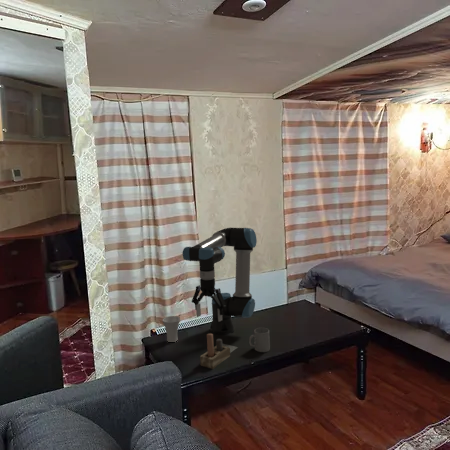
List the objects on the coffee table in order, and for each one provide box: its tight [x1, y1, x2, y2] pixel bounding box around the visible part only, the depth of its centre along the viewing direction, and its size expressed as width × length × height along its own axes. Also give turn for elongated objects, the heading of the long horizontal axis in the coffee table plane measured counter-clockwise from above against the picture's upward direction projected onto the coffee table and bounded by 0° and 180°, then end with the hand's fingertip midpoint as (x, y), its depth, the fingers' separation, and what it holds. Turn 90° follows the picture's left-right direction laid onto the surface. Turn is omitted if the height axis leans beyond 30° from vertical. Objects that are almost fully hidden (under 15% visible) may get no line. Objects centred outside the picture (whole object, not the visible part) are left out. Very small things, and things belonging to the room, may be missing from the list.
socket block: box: [199, 338, 231, 370], centre depth 218 cm, size 8×16×10 cm, turn 146°
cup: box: [162, 315, 181, 343], centre depth 245 cm, size 10×10×14 cm
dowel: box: [206, 333, 215, 358], centre depth 214 cm, size 3×3×16 cm
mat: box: [222, 343, 239, 354], centre depth 232 cm, size 10×10×1 cm
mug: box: [248, 327, 271, 353], centre depth 229 cm, size 12×8×11 cm
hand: (209, 318), depth 212 cm, fingers open, 13 cm apart
